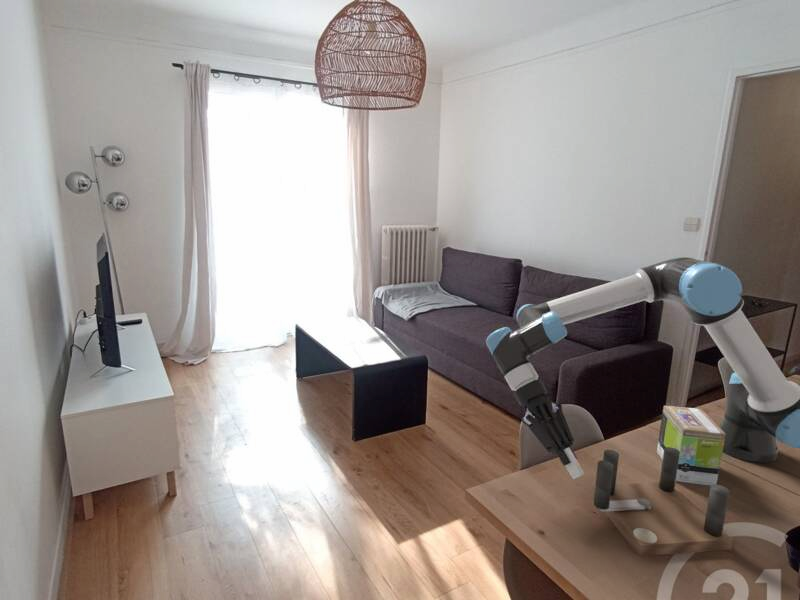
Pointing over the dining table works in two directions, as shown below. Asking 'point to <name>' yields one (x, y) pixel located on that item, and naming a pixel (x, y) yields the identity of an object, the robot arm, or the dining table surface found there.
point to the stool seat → (668, 513)
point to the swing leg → (604, 492)
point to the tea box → (692, 444)
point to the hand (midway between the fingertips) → (578, 476)
